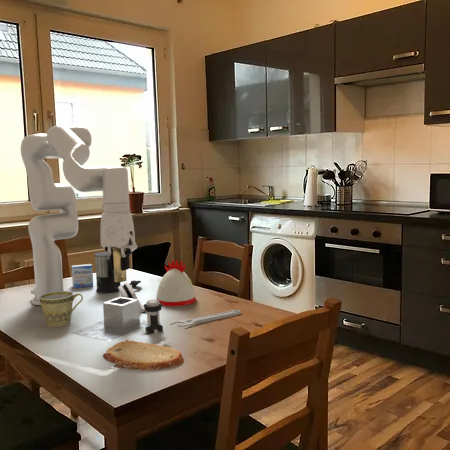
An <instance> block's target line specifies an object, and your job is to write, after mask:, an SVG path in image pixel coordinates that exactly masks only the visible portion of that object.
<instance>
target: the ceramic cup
mask: <svg viewBox="0 0 450 450" xmlns="http://www.w3.org/2000/svg"><path fill="white" fill-rule="evenodd" d="M78 296H80V297H81V299H80V301H78V302H77V303H76V304H75V305H74V307H73V302H74V300H75V298H76V297H78ZM39 298H40V303H41V309H42V314H43V317H44V321H45V325H46V326H47V327H50V328H60V327H65V326H67V325H69V324H71V319H72V313H73V312H74V310H75V309H76V308H77V306H79V305H80V304H81V303H82V301H83V300H84V296H83V295H82V294H81V293H75V294H74V292H73V291H68V290H64V291H54V292H48V293H45V294H42V295H40V297H39Z"/></svg>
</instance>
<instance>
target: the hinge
mask: <svg viewBox="0 0 450 450" xmlns="http://www.w3.org/2000/svg"><path fill="white" fill-rule="evenodd" d="M129 283H130V282H125V283H123V285H120V286H119V287H118V289H119V291H118V292H119V293H120V297H125V298H132V299H138V297H137V295H136V292H135V291H134V289H133V287H132V285H131V286H130V284H129ZM139 312H140V314H142V313H145V315H147V312H146V311H145V308H144V304H142V302H141V301H140V300H139Z"/></svg>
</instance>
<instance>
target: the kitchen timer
mask: <svg viewBox="0 0 450 450" xmlns="http://www.w3.org/2000/svg"><path fill="white" fill-rule="evenodd" d="M183 264H184V263H183V260H180V263H179V260H178V259H176V260H174V259H172V260H171V262H167V265H168V267H167V265H164V269H165V271H166V273H165V274H164V275H163V276H162V277H161V280H160V281H159V284H158V288H157V290H156V291H157V292H156V299H155V300H158V301H159V303H162V307H163V306H164V307H181V306H187V305H190V304H194V303H195V302H196V292H195V288H194V286H193V283H192V280H191V279H190V277H189V276H188V274H186V272H185V270H186V266H187V264H186V263H185V264H184V265H183Z"/></svg>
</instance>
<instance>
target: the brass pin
mask: <svg viewBox="0 0 450 450" xmlns="http://www.w3.org/2000/svg"><path fill="white" fill-rule="evenodd" d="M112 249H113V263H114V281H115V282H120V283H123V282H127V270H124V271H122V270H121V260H120V258H121V257H122V254H121V248H119V247H115V248H112Z"/></svg>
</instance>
